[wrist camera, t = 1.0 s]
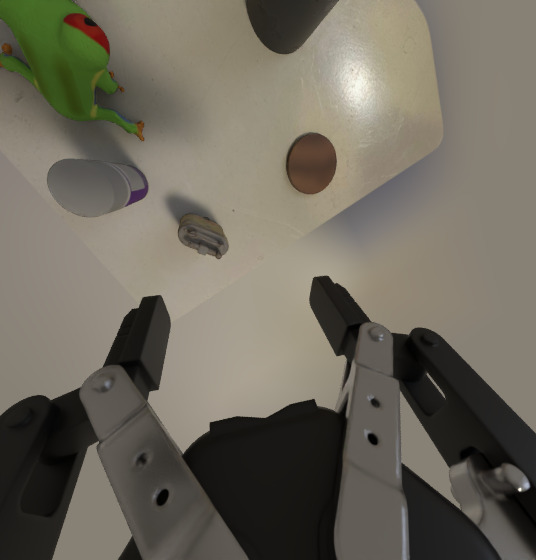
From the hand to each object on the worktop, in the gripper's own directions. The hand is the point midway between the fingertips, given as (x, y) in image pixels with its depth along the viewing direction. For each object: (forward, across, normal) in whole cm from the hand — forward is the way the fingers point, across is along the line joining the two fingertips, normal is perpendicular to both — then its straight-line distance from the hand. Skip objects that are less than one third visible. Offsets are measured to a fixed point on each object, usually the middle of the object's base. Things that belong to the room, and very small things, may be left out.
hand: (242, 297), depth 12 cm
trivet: (+30, -15, -1) cm, 34 cm away
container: (+27, +13, 0) cm, 30 cm away
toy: (+29, +14, -11) cm, 34 cm away
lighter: (+27, +4, +7) cm, 28 cm away
